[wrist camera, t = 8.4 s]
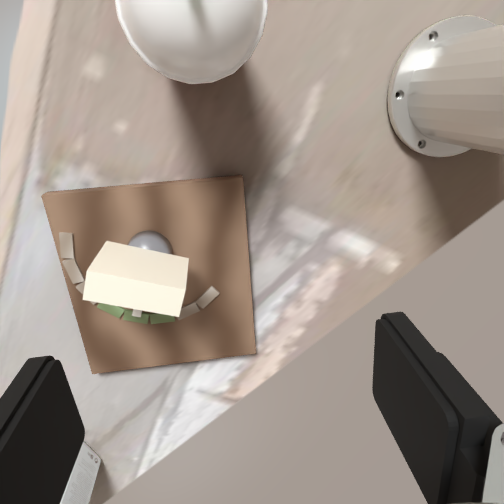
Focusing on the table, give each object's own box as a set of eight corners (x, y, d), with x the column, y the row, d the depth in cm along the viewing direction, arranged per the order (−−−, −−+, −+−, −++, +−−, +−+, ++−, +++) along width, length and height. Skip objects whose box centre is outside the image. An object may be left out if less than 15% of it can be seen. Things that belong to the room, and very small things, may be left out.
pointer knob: (114, 222, 37) (88, 259, 29) (191, 239, 39) (188, 279, 30) (100, 306, 40) (73, 362, 32) (172, 319, 42) (164, 375, 34)
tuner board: (241, 175, 39) (243, 178, 37) (254, 345, 47) (256, 355, 45) (47, 191, 37) (40, 196, 35) (95, 365, 45) (91, 375, 44)
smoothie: (157, 91, 35) (105, 88, 17) (139, -18, 32) (49, -172, 13) (248, 83, 35) (295, 70, 17) (239, -25, 32) (285, -182, 14)
